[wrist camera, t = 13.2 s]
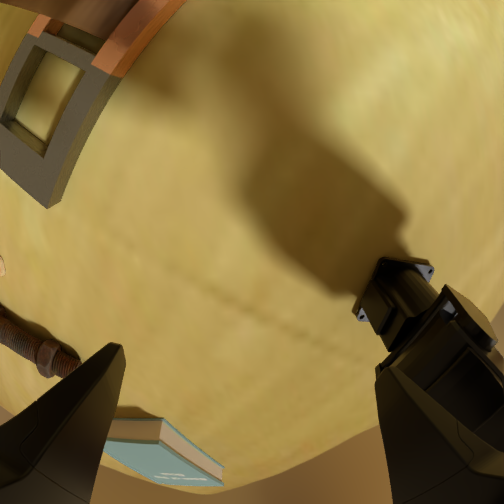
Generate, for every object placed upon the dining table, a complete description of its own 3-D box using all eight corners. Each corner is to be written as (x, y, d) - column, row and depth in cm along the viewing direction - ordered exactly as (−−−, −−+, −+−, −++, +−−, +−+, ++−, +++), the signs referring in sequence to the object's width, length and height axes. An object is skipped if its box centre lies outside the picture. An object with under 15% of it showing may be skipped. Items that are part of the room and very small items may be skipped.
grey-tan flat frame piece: (121, -60, 8) (113, -69, 6) (221, -31, 11) (219, -44, 9) (-7, 144, 15) (-20, 148, 13) (60, 201, 18) (46, 209, 16)
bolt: (90, 355, 29) (4, 309, 25) (83, 349, 25) (-10, 296, 21) (78, 395, 26) (-9, 345, 22) (70, 395, 22) (-25, 336, 18)
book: (224, 465, 42) (223, 486, 37) (157, 464, 44) (154, 483, 39) (164, 415, 32) (158, 444, 28) (88, 414, 34) (80, 436, 30)
